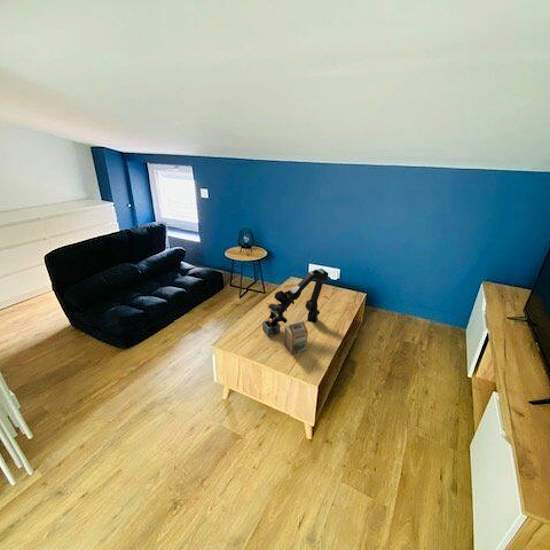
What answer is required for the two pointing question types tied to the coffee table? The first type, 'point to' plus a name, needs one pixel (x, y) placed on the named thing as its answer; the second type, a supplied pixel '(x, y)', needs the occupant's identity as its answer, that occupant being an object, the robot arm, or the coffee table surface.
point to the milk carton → (296, 337)
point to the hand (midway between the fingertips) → (269, 323)
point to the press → (271, 328)
